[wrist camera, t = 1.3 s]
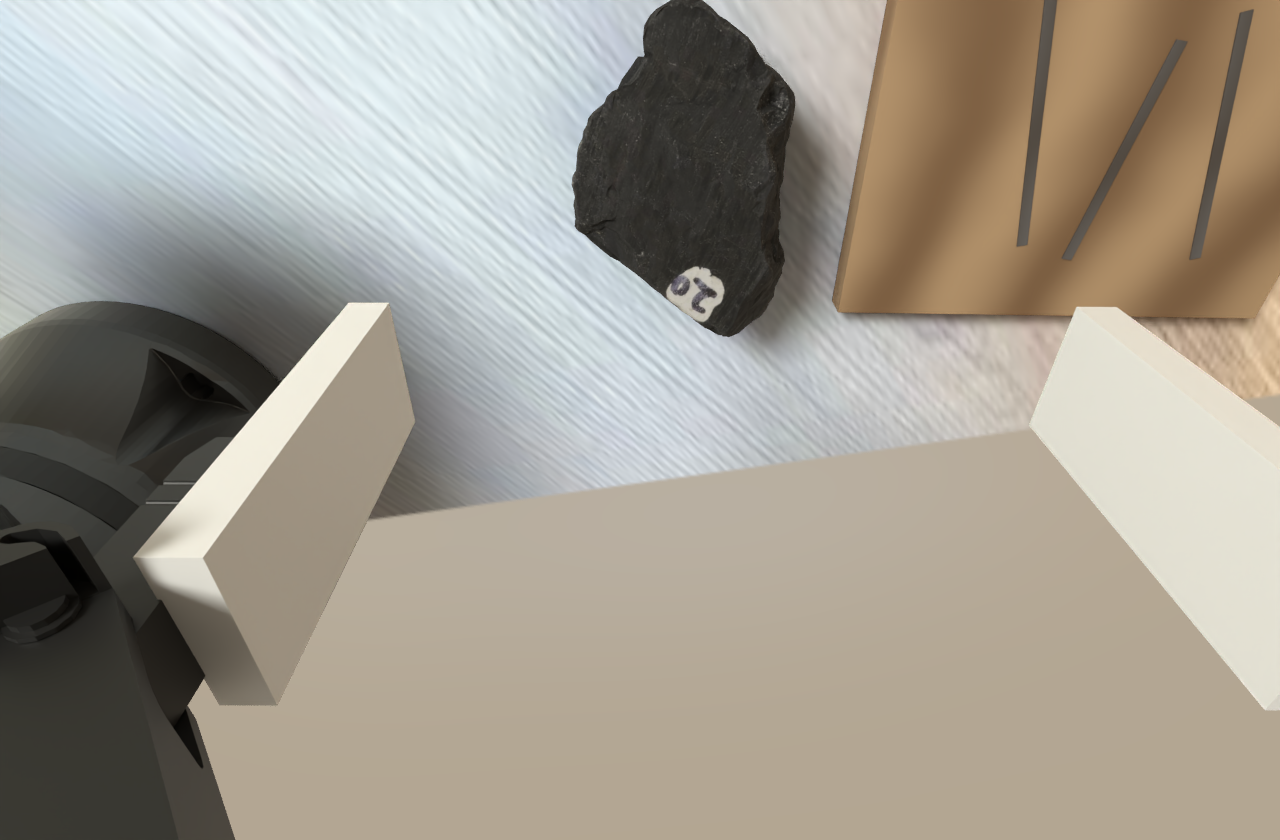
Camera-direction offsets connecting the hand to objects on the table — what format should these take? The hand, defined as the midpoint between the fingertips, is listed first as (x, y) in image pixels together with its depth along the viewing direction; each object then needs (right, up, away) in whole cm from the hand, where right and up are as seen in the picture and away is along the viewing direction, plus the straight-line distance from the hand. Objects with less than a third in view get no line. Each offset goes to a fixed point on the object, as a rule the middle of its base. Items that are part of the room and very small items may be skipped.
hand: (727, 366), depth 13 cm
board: (+16, +10, +13) cm, 23 cm away
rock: (0, +9, +14) cm, 17 cm away
